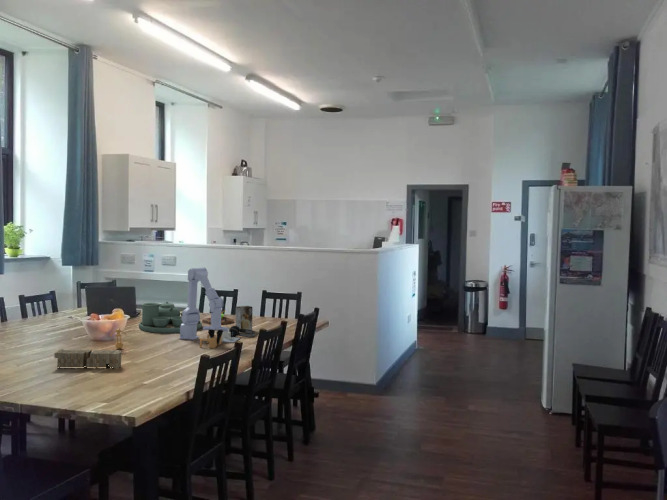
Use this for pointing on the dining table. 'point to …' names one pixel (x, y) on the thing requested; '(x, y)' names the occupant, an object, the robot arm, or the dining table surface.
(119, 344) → the figurine
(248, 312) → the coffee box
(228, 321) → the plant
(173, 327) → the tea set
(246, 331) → the headset
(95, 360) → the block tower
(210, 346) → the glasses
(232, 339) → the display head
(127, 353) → the dining table surface
